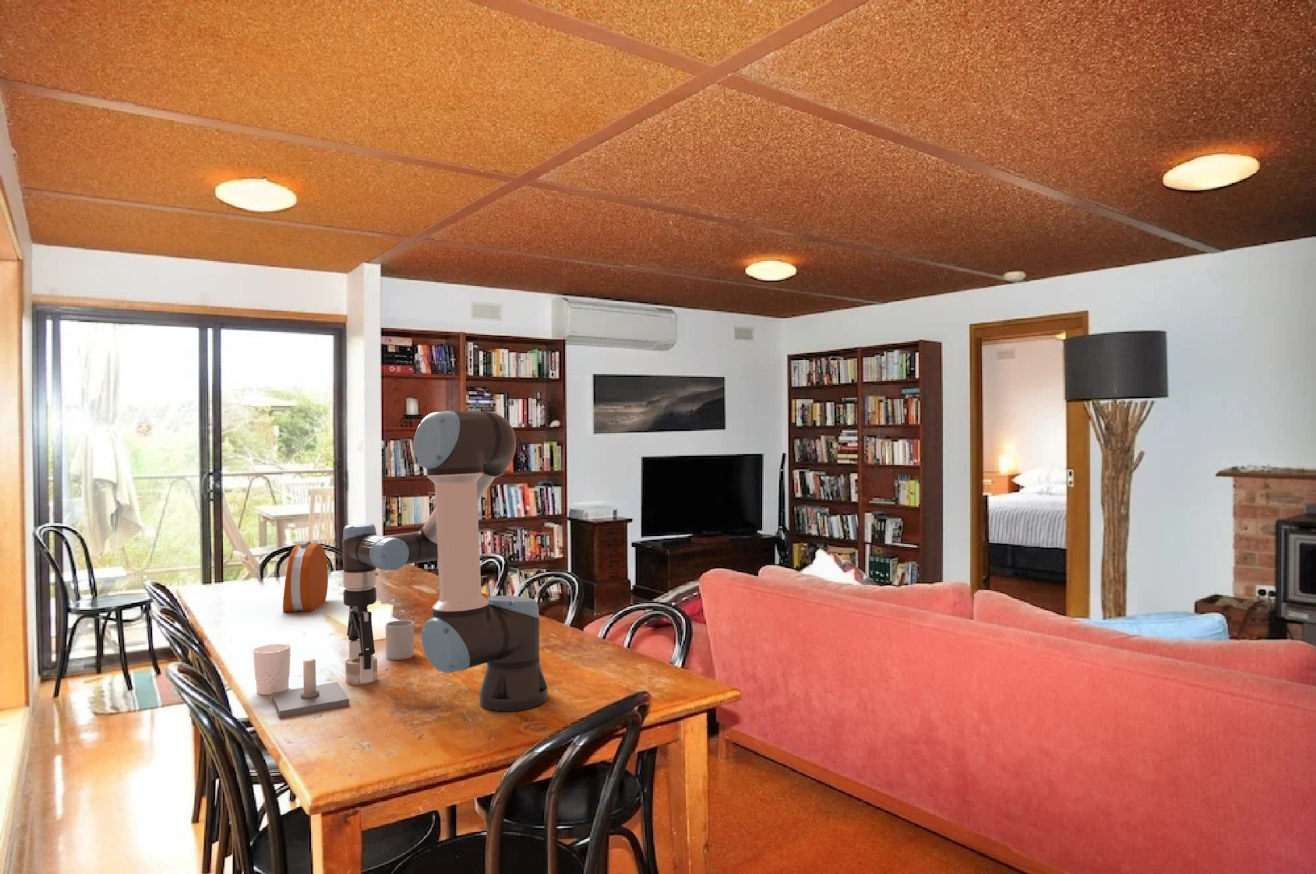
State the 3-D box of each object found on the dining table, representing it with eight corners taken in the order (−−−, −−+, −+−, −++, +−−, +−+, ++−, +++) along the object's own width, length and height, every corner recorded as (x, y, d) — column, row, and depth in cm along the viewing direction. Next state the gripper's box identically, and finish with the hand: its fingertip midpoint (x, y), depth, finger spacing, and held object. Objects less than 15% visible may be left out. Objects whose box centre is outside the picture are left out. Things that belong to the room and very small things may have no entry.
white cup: (266, 698, 182) (266, 654, 182) (247, 692, 186) (246, 650, 186) (298, 688, 189) (297, 646, 188) (278, 683, 193) (277, 642, 193)
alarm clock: (300, 600, 286) (299, 537, 286) (328, 599, 287) (327, 536, 287) (278, 614, 264) (276, 546, 264) (309, 613, 265) (307, 546, 265)
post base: (349, 705, 176) (348, 662, 176) (279, 718, 169) (278, 673, 169) (337, 688, 188) (336, 648, 188) (272, 699, 181) (271, 657, 181)
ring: (379, 681, 193) (378, 661, 193) (349, 686, 189) (349, 665, 189) (373, 674, 199) (372, 654, 199) (344, 679, 195) (343, 658, 195)
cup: (389, 662, 209) (389, 628, 209) (380, 653, 218) (380, 620, 218) (417, 657, 213) (416, 624, 213) (407, 648, 221) (407, 617, 221)
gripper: (387, 595, 185) (388, 686, 186) (365, 577, 206) (365, 658, 207) (353, 599, 181) (354, 691, 182) (334, 580, 202) (335, 663, 203)
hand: (360, 674), depth 194 cm, fingers open, 13 cm apart
